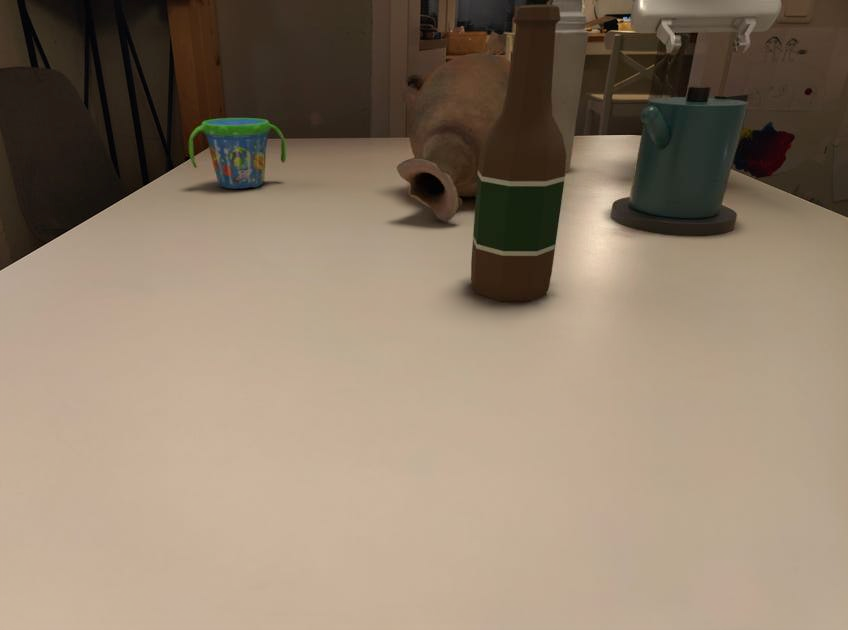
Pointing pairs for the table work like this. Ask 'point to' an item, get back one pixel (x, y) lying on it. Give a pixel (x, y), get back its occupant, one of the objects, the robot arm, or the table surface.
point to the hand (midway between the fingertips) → (708, 49)
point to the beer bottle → (521, 172)
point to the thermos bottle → (568, 69)
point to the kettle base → (673, 221)
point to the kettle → (687, 153)
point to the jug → (451, 128)
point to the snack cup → (237, 149)
